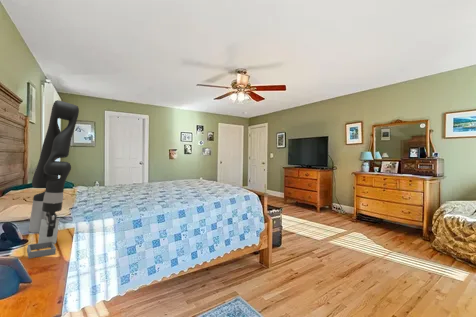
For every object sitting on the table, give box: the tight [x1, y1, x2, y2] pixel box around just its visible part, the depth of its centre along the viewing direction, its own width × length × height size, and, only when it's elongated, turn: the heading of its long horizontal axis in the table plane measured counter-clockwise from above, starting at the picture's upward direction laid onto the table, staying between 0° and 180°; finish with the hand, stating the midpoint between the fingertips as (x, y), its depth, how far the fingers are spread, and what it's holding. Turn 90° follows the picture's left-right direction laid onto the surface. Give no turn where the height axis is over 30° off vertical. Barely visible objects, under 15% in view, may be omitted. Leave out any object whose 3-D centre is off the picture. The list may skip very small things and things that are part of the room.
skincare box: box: [37, 218, 60, 245], centre depth 111 cm, size 6×4×12 cm
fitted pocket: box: [26, 242, 57, 259], centre depth 101 cm, size 10×9×2 cm
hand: (48, 234), depth 111 cm, fingers open, 8 cm apart
